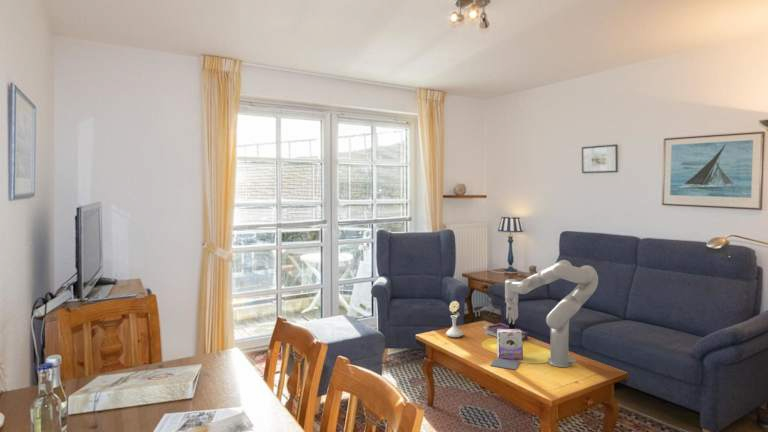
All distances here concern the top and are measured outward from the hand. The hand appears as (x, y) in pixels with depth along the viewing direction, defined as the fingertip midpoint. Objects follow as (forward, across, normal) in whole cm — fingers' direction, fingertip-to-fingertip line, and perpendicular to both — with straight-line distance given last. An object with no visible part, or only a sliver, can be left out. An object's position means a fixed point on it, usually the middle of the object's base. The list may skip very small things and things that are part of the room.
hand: (512, 330), depth 266 cm
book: (+15, +31, +12) cm, 37 cm away
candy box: (+15, -6, 0) cm, 16 cm away
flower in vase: (+15, +16, +42) cm, 48 cm away
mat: (+15, -17, 0) cm, 23 cm away
